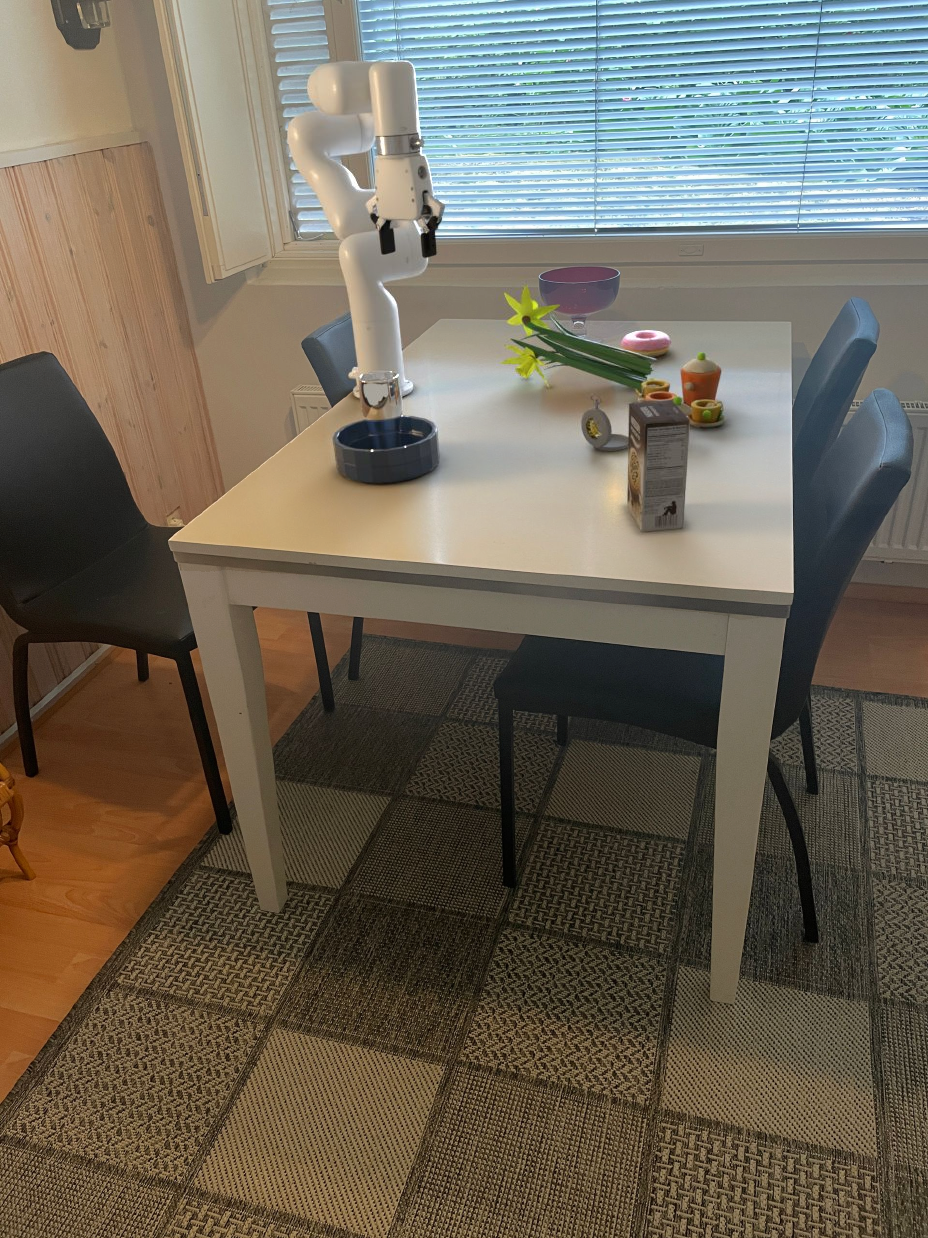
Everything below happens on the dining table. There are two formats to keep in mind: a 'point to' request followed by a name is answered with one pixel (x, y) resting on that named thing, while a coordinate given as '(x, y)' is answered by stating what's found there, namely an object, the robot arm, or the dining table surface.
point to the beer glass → (382, 408)
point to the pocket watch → (601, 430)
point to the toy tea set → (691, 392)
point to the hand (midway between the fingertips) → (408, 254)
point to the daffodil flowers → (528, 358)
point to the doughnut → (646, 343)
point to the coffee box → (657, 464)
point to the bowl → (387, 452)
